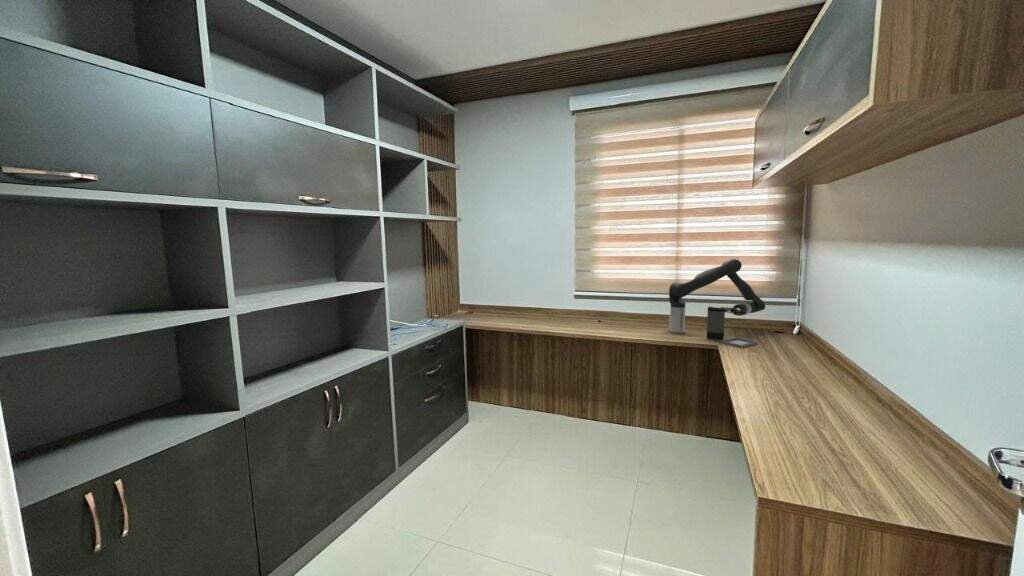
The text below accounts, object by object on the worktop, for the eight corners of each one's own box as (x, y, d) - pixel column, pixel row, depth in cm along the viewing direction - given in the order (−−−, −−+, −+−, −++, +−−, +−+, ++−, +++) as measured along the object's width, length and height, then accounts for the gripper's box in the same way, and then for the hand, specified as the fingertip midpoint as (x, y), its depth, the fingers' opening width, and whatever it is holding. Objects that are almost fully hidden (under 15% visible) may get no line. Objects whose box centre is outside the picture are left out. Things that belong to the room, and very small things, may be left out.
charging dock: (720, 343, 236) (720, 340, 235) (735, 339, 243) (736, 337, 243) (741, 348, 224) (741, 345, 224) (757, 343, 232) (757, 341, 232)
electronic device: (723, 338, 245) (725, 307, 243) (723, 341, 240) (724, 308, 238) (707, 337, 250) (708, 306, 248) (706, 339, 245) (707, 307, 243)
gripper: (731, 302, 264) (717, 305, 256) (753, 305, 252) (738, 308, 244) (731, 313, 265) (716, 316, 257) (753, 316, 253) (738, 319, 245)
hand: (727, 312), depth 251 cm, fingers open, 8 cm apart
